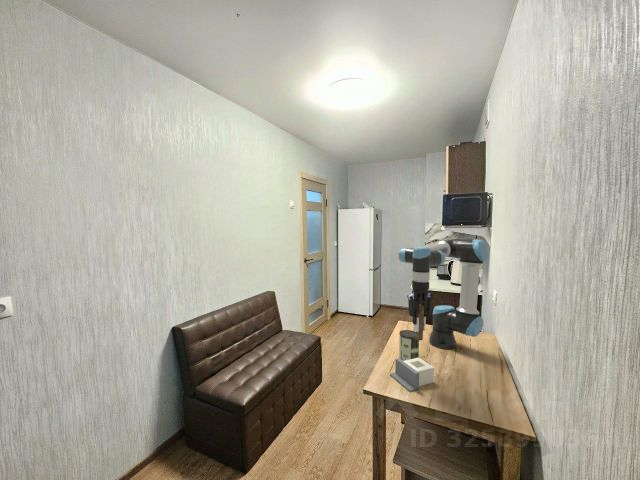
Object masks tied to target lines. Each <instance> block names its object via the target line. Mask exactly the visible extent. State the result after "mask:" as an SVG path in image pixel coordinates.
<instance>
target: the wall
mask: <svg viewBox="0 0 640 480" xmlns="http://www.w3.org/2000/svg"><path fill="white" fill-rule="evenodd" d="M394 367H395V368H394V369H395V372H392V373H389V376H391V378H393V379H394V380H395V381H396V382H397V383H398V384H400V385H401V386H402V387H403V388H404V389H405V390H406V391H408V392H409V393H411V392H415V391H419V388H420V386H419V372H417V371H416V370H414V369H413V368H412V367H410V366H409V365H408V364H406V363H405V362H403V361H402V360H401V359H400V358H399V357H398V358H395V365H394Z"/></svg>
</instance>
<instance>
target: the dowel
mask: <svg viewBox="0 0 640 480" xmlns="http://www.w3.org/2000/svg"><path fill="white" fill-rule="evenodd" d="M418 318H419V332H416V331H415V332H416V337H415V339H416V340H419V341H423V340H424V338H423V337H424V331H423V320H424V305H421V303H420V305H419V311H418Z"/></svg>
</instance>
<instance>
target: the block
mask: <svg viewBox="0 0 640 480" xmlns="http://www.w3.org/2000/svg"><path fill="white" fill-rule="evenodd" d="M403 362H405V363H406V364H408V365H409V366H410V367H412V368H413V369H414V370H416V371H417V372H419V387H422V386H424V385H429V384H433V383H435V382H434V380H435V379H434V378H435V376H434V375H435V366H432V365H431V364H429V363H428V362H426V361H425V360H423V359H422V358H421V357H419V358H414V359H410V360H405V361H403Z"/></svg>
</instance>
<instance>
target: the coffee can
mask: <svg viewBox="0 0 640 480" xmlns="http://www.w3.org/2000/svg"><path fill="white" fill-rule="evenodd" d="M398 334H399V351H398V352H399V354H398V358H399V359H401V360H402V361H405V360H410V359H414V358H420V357H419V356H420V355H419V354H420V340H416V339H415V337H416V331H414V330H413V329H412V330H411V329H403V330H400V331H399V333H398Z"/></svg>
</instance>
